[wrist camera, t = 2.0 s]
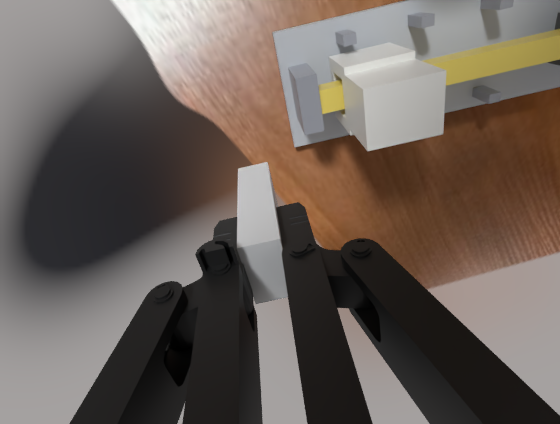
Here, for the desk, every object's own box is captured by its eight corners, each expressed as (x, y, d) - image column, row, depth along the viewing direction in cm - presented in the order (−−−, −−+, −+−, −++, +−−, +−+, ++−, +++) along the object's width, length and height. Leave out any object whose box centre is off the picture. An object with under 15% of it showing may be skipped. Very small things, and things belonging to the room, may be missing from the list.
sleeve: (335, 116, 31) (368, 158, 23) (328, 56, 29) (362, 81, 21) (391, 103, 31) (442, 141, 23) (389, 42, 28) (446, 61, 20)
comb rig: (293, 144, 34) (304, 175, 28) (272, 32, 29) (280, 42, 23) (591, 76, 34) (666, 94, 28) (625, -53, 28) (726, -64, 22)
